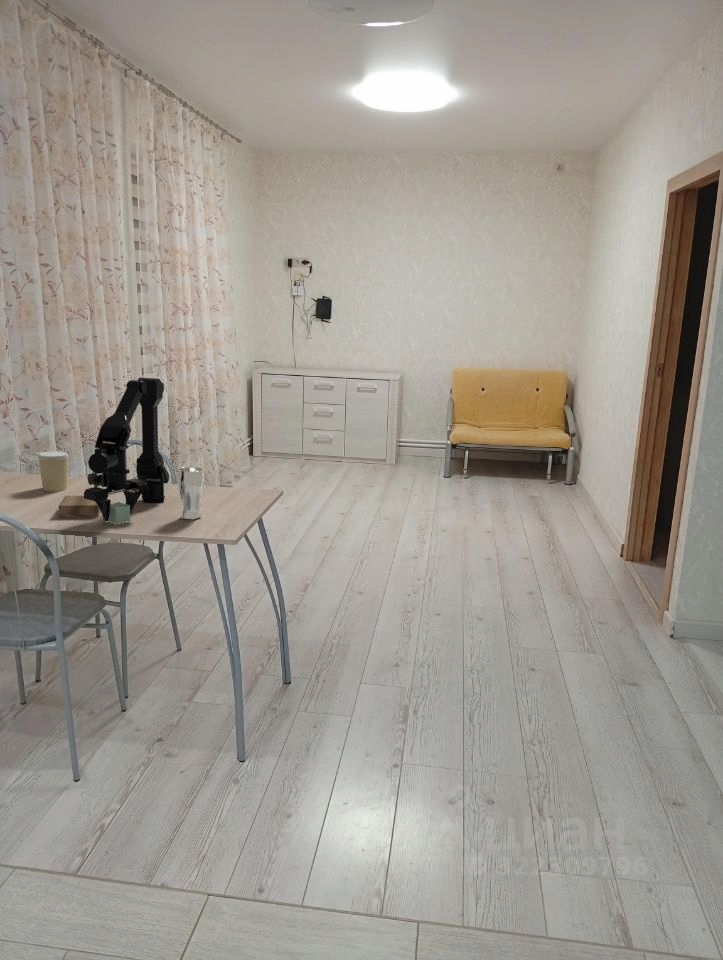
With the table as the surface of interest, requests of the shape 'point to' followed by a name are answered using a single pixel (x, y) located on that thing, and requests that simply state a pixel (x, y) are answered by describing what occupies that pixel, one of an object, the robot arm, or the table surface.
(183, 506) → the beer glass
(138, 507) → the table surface
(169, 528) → the table surface
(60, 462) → the coffee cup
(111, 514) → the sage block
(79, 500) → the walnut block
